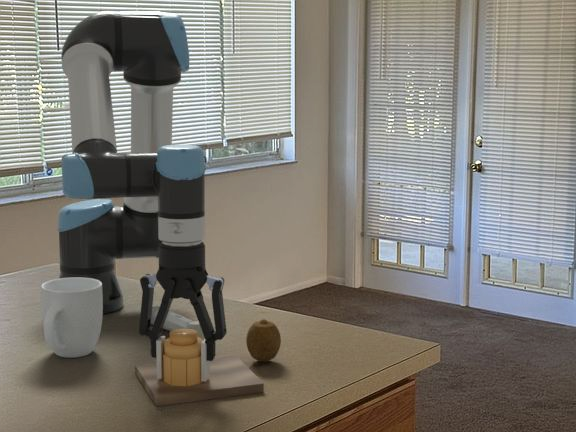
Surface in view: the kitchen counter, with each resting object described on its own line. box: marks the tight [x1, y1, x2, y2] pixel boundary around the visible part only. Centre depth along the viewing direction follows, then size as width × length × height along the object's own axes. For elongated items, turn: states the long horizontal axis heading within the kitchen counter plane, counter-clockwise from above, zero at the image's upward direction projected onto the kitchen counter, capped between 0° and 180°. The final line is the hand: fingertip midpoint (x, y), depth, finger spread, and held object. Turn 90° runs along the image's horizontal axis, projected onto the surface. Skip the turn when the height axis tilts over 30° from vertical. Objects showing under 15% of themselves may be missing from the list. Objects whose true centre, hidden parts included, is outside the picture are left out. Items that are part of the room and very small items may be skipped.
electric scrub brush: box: [151, 305, 205, 340], centre depth 174 cm, size 5×7×25 cm
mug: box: [40, 277, 104, 359], centre depth 163 cm, size 15×11×13 cm
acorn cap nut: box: [163, 329, 203, 386], centre depth 147 cm, size 6×6×8 cm
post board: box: [134, 353, 265, 407], centre depth 150 cm, size 16×18×6 cm
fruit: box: [245, 318, 282, 364], centre depth 161 cm, size 6×6×8 cm
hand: (183, 377), depth 148 cm, fingers open, 7 cm apart
